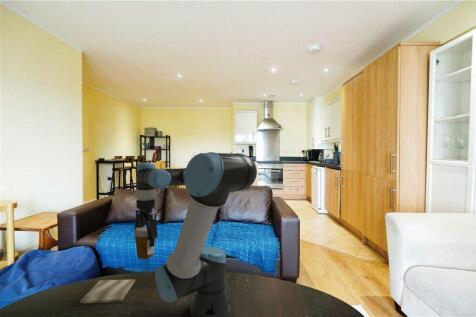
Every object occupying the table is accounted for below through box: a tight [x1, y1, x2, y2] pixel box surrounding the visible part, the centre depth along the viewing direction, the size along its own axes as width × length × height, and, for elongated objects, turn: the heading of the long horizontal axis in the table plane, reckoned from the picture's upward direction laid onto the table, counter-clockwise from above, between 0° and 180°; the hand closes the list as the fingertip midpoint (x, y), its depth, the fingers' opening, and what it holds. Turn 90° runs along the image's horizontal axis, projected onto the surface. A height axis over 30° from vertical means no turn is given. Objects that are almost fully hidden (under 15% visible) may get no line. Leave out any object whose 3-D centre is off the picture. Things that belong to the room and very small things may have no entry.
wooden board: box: [79, 278, 136, 304], centre depth 105 cm, size 16×16×1 cm
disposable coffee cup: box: [133, 225, 156, 260], centre depth 105 cm, size 10×10×12 cm
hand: (145, 250), depth 105 cm, fingers closed on disposable coffee cup, 8 cm apart
